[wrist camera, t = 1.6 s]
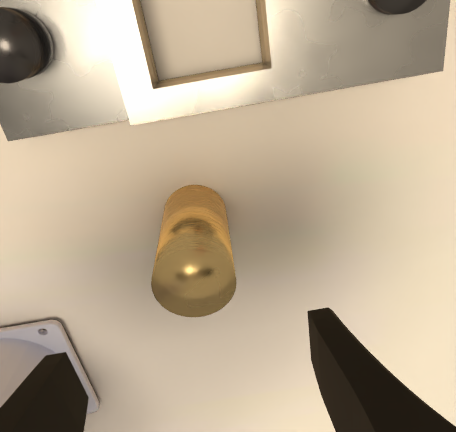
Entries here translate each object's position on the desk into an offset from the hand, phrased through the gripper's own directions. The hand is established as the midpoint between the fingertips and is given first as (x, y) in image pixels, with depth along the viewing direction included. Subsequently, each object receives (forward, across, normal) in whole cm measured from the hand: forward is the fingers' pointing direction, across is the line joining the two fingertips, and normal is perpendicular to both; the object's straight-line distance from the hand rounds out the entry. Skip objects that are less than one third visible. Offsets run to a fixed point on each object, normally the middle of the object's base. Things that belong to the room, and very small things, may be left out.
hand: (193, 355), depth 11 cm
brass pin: (+9, 0, 0) cm, 9 cm away
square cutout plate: (+9, -2, -9) cm, 13 cm away
